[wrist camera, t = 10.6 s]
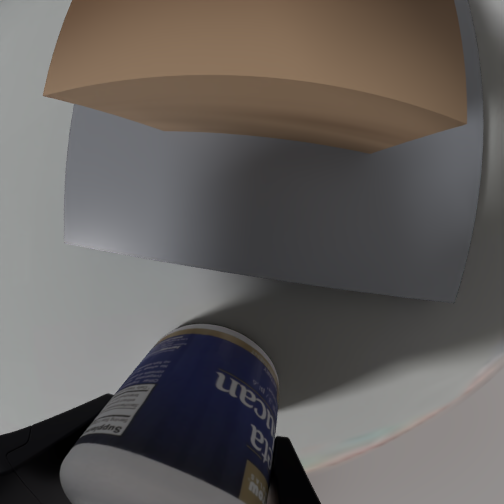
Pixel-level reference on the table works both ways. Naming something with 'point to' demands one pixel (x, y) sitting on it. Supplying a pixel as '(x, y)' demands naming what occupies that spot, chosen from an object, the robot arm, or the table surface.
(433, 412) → the table surface
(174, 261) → the base plate
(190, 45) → the tan wooden block
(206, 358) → the pill bottle
